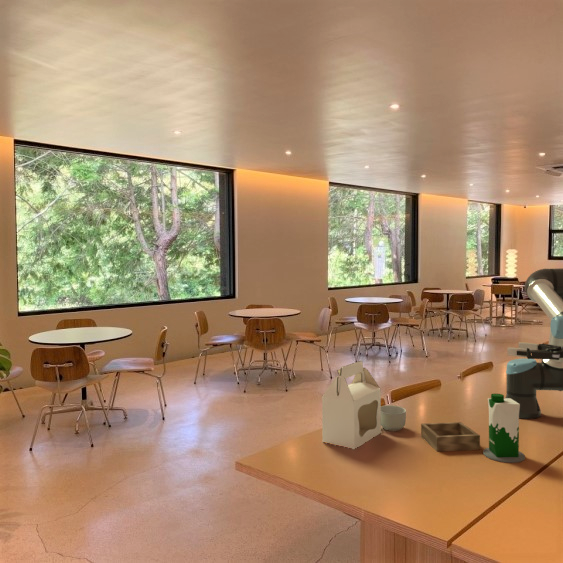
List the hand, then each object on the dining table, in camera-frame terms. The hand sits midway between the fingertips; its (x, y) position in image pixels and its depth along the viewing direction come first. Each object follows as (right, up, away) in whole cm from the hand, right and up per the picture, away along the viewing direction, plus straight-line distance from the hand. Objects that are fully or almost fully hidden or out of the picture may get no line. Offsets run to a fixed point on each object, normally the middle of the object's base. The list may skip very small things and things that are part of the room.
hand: (513, 348), depth 190 cm
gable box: (-58, -34, +5) cm, 68 cm away
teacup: (-43, -34, +16) cm, 57 cm away
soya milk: (-10, -34, -15) cm, 38 cm away
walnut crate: (-24, -34, -2) cm, 42 cm away
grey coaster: (-10, -34, -15) cm, 38 cm away
